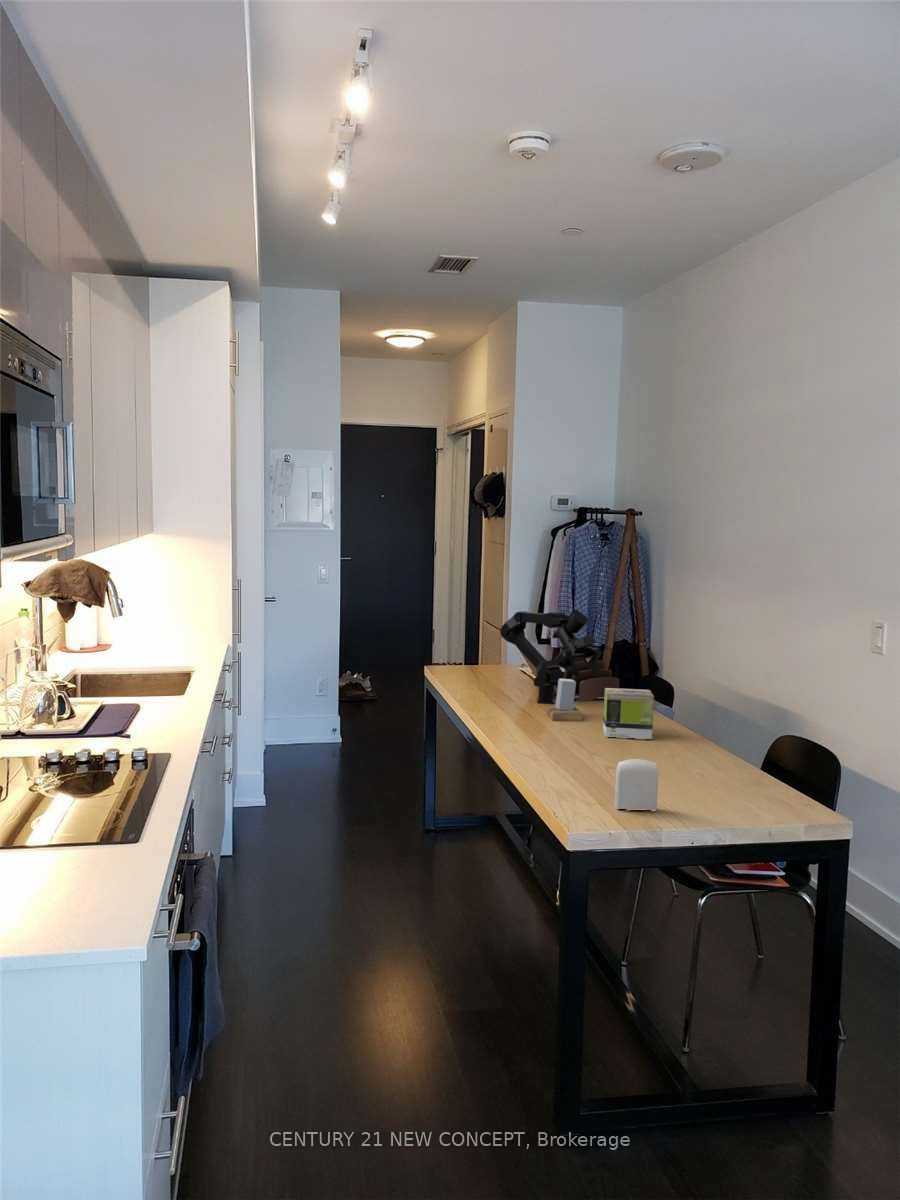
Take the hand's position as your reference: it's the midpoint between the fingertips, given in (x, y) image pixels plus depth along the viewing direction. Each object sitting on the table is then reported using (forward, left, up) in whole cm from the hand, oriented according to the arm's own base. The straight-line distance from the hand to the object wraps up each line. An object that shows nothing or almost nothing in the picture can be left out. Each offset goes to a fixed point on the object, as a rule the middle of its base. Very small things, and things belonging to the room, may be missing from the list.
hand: (589, 676), depth 314 cm
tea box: (+28, +10, -14) cm, 33 cm away
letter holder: (-29, +4, -14) cm, 33 cm away
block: (+8, -9, -14) cm, 18 cm away
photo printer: (+100, +2, -14) cm, 101 cm away
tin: (+8, -9, -10) cm, 16 cm away
